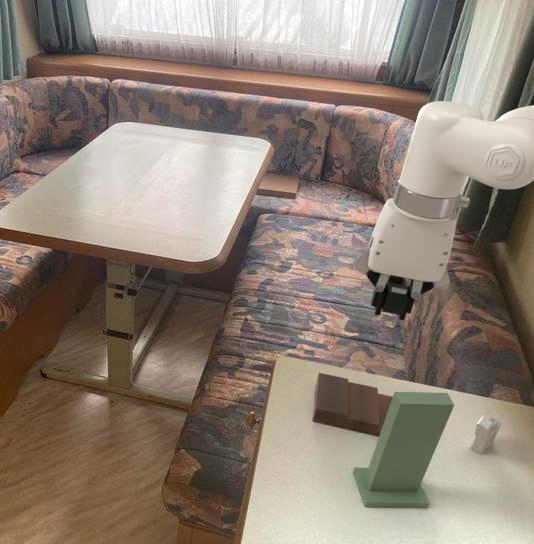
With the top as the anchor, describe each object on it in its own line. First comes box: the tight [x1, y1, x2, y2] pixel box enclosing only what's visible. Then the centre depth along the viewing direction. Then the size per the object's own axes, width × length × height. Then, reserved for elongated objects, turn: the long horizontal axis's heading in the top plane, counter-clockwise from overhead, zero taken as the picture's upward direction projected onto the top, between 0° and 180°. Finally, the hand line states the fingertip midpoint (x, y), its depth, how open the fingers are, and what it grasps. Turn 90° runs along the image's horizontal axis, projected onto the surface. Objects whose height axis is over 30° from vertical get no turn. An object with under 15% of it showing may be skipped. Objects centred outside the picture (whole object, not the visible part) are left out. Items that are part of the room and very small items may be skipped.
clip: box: [381, 275, 409, 315], centre depth 84 cm, size 3×5×4 cm, turn 165°
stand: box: [352, 391, 455, 509], centre depth 79 cm, size 6×9×18 cm, turn 91°
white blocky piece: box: [470, 416, 503, 455], centre depth 88 cm, size 7×2×8 cm, turn 130°
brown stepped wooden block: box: [312, 372, 393, 438], centre depth 95 cm, size 15×9×3 cm, turn 75°
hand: (388, 311), depth 85 cm, fingers closed on clip, 2 cm apart
